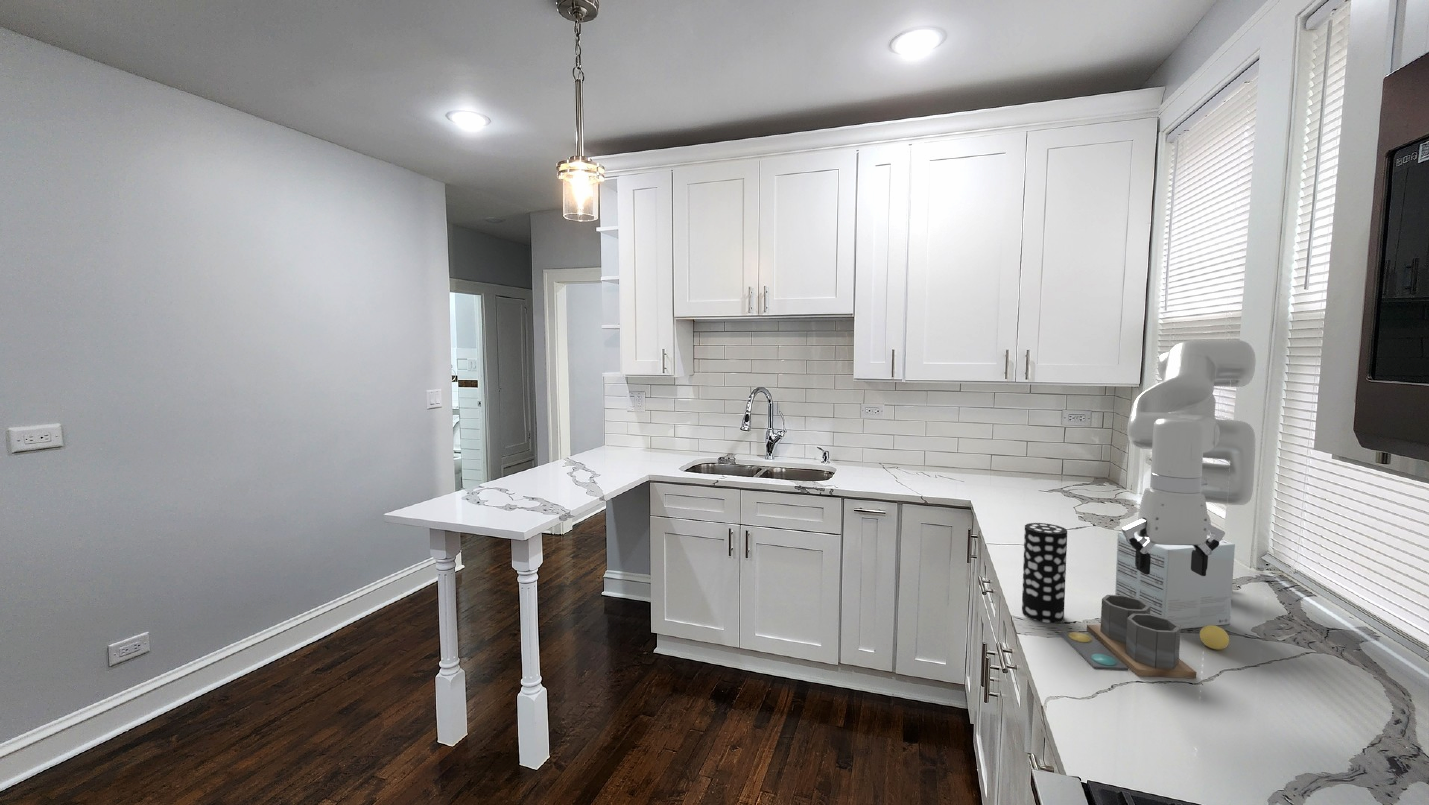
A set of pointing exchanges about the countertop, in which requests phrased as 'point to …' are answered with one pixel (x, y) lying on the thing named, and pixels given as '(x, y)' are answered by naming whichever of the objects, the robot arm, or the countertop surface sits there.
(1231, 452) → the robot arm
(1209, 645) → the ochre ball
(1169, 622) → the double cup sorting tray
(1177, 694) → the countertop surface
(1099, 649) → the card
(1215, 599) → the supplement box
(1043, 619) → the spotted tube
